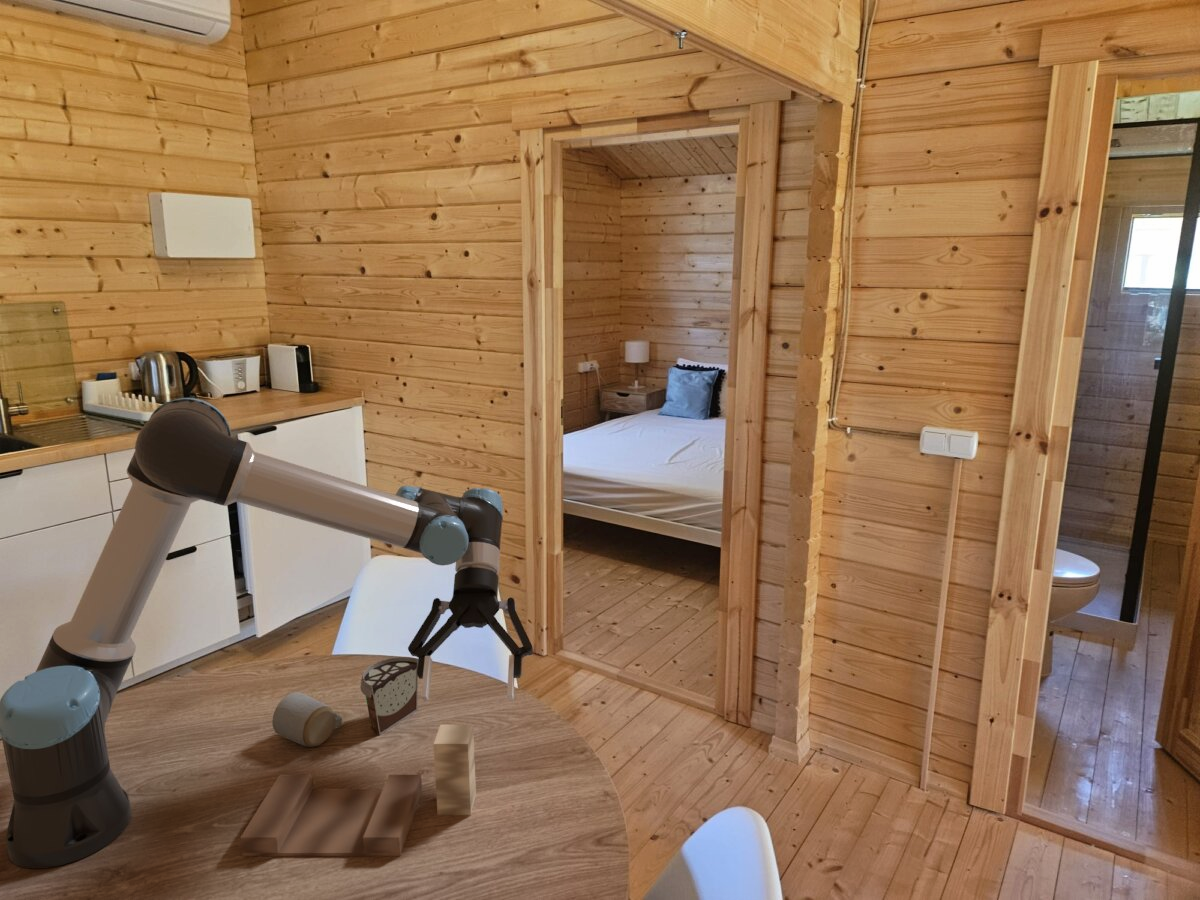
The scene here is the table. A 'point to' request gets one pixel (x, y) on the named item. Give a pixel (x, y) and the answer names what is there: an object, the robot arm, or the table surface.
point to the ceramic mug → (304, 719)
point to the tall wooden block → (455, 769)
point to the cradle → (332, 819)
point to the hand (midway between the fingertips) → (467, 698)
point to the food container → (390, 691)
